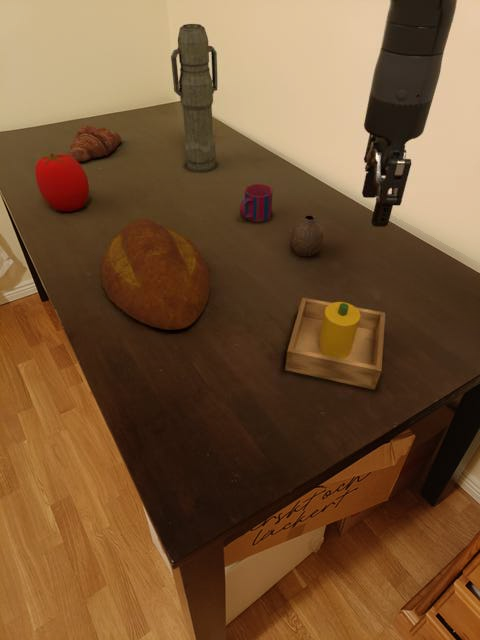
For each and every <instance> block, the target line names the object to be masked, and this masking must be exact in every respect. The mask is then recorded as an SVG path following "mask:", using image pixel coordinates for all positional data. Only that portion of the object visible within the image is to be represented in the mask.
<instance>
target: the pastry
mask: <svg viewBox="0 0 480 640" xmlns="http://www.w3.org/2000/svg"><path fill="white" fill-rule="evenodd" d="M121 142H122V137H121V135H120V134H119V133H118V132H117V131H112V130H109V129H108V128H106V127H100V128H96V127H93V126H91V125H83V126H81V127H79V128H78V129H77V132H76V135H75V136H74V140H73V141H72V142H71V144H70V150H69V151H68V155H70V156H71V157H73V158H75V159H76V160H77V161H78V163H85V162H89V161H92V160H98V159H101V158H105V157H108V156H110V154H112V153H114V152H115V149H116V148H117V147H118V146H120V144H121Z"/></svg>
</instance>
